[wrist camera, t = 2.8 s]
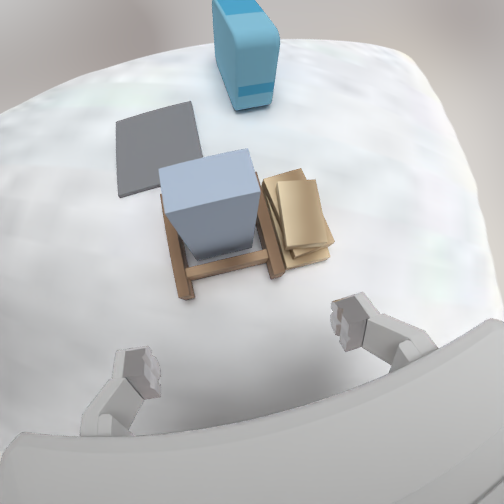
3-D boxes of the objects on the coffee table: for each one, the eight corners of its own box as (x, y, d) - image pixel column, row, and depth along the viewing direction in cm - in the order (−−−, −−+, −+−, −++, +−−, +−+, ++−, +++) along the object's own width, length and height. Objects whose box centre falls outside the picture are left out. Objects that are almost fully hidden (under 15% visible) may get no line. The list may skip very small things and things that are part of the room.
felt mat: (120, 197, 29) (118, 195, 29) (117, 124, 32) (116, 121, 31) (206, 174, 30) (205, 172, 30) (191, 103, 33) (191, 100, 32)
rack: (185, 299, 27) (178, 297, 24) (167, 205, 29) (160, 194, 27) (280, 276, 28) (285, 271, 25) (254, 185, 30) (256, 171, 27)
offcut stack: (283, 270, 28) (291, 261, 24) (260, 188, 30) (263, 167, 26) (328, 259, 29) (343, 248, 24) (302, 180, 31) (311, 159, 26)
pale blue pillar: (197, 260, 28) (164, 213, 16) (191, 232, 29) (158, 168, 16) (251, 247, 29) (260, 191, 16) (244, 219, 29) (247, 148, 17)
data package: (271, 109, 33) (282, 34, 21) (235, 116, 33) (235, 39, 21) (245, 55, 35) (247, -10, 24) (215, 60, 35) (211, -6, 23)
